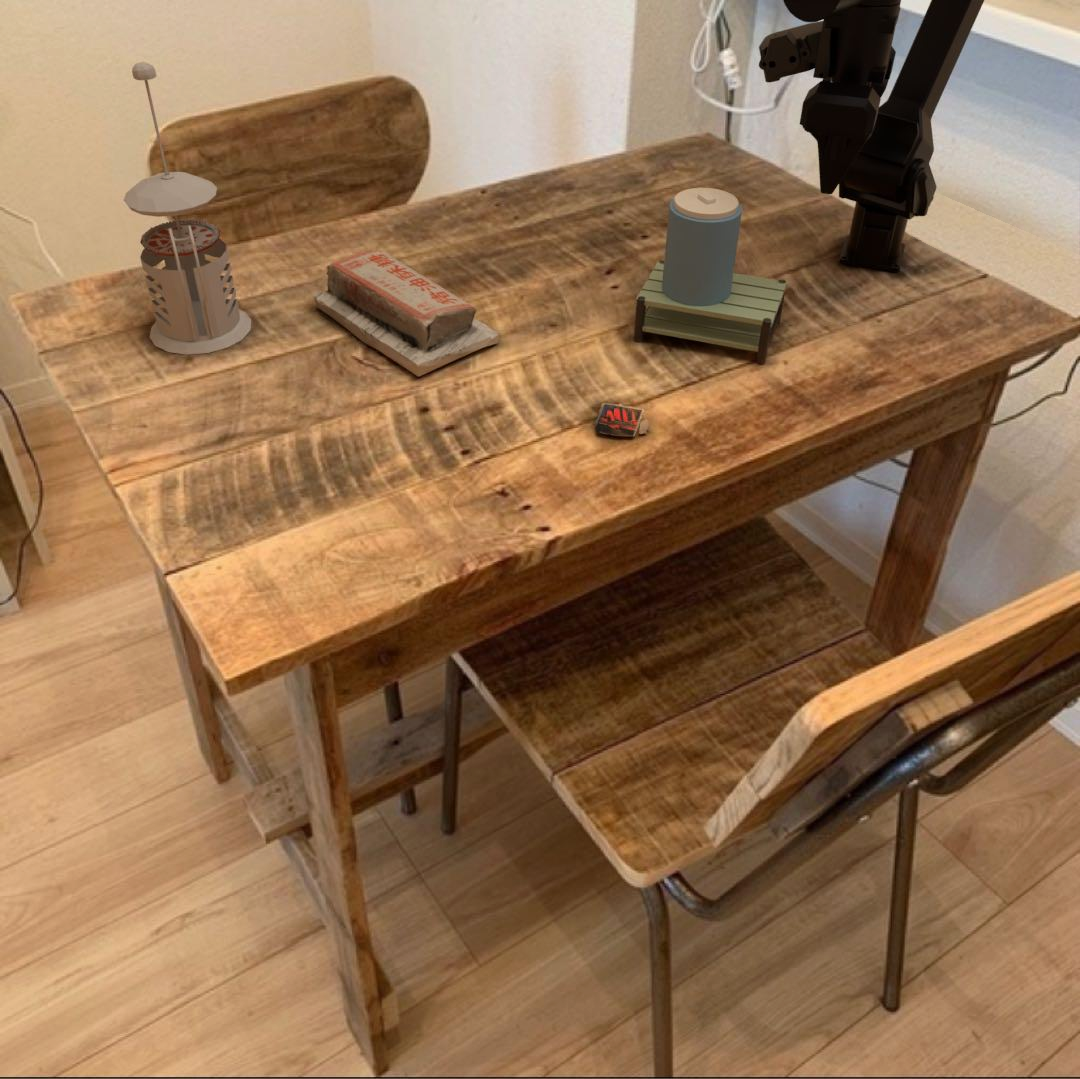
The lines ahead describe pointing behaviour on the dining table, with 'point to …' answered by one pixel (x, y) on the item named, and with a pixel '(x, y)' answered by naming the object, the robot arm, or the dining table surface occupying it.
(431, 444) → the dining table surface
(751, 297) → the rack
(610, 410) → the matchbox
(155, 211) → the french press
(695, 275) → the tissue tub
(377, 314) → the packaged product
